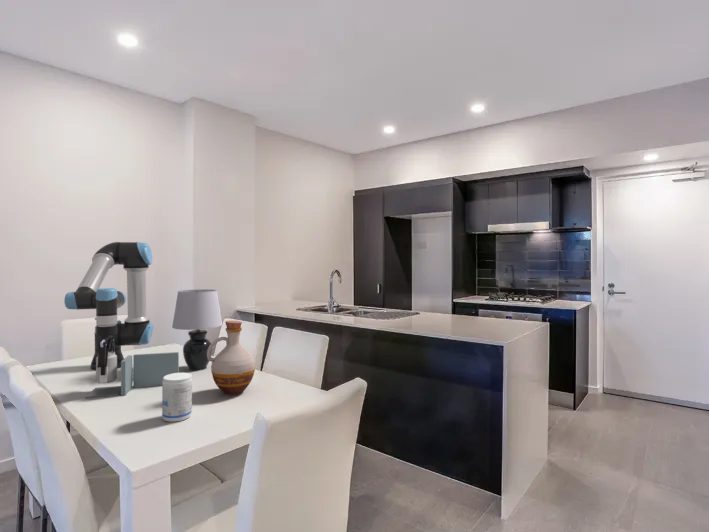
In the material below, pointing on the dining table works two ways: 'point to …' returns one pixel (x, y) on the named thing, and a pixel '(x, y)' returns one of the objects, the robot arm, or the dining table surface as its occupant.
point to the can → (111, 367)
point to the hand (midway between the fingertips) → (106, 379)
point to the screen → (147, 369)
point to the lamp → (197, 323)
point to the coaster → (104, 392)
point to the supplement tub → (177, 397)
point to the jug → (232, 362)
